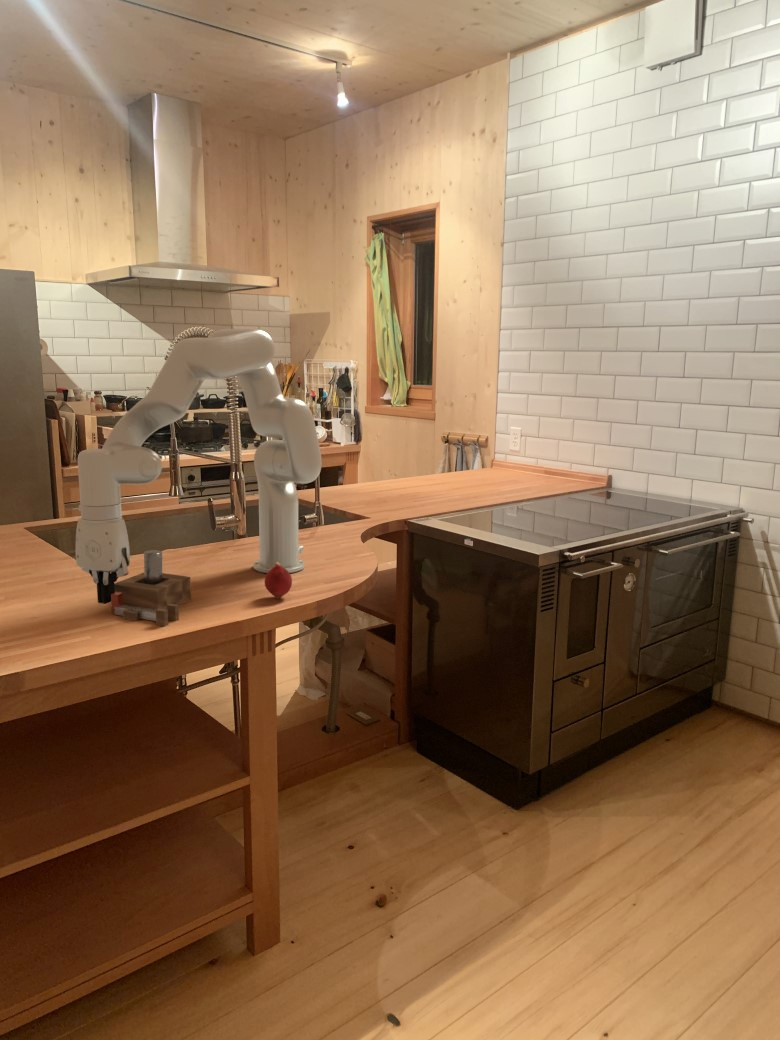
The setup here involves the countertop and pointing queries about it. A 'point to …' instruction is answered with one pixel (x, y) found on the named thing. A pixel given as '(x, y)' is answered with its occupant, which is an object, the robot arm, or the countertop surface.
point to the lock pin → (130, 608)
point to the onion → (278, 581)
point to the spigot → (152, 567)
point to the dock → (155, 596)
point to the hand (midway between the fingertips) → (106, 601)
